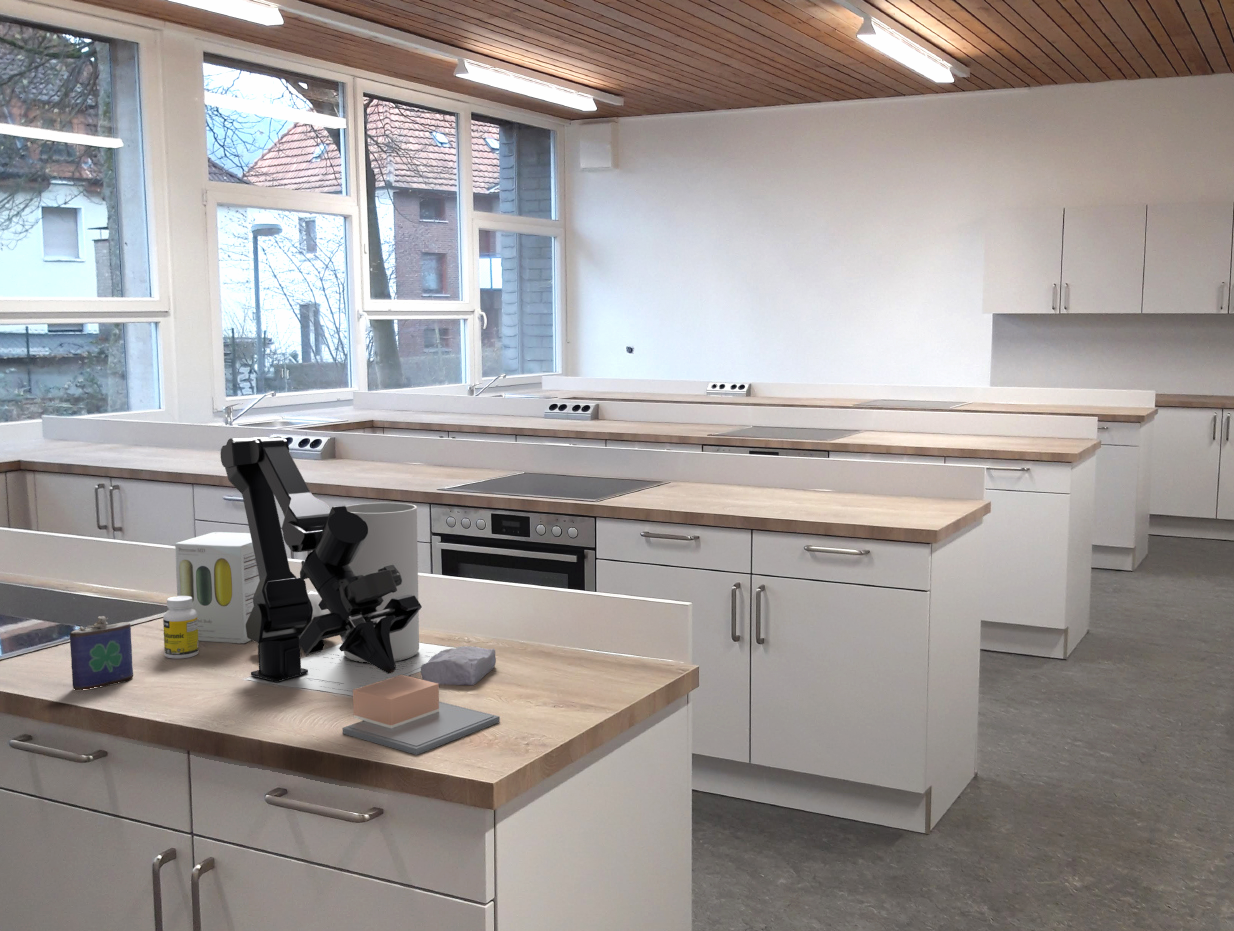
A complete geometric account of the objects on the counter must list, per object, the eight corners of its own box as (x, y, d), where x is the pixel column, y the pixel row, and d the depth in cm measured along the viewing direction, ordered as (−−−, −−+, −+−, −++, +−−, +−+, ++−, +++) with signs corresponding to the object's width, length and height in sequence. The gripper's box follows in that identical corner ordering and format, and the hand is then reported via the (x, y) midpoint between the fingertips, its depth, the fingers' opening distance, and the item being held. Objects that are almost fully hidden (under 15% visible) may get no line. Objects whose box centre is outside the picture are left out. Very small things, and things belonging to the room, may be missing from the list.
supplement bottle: (157, 657, 195) (155, 599, 194) (180, 649, 200) (178, 593, 199) (183, 660, 193) (180, 602, 192) (205, 652, 198) (203, 596, 197)
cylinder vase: (378, 641, 206) (375, 500, 203) (434, 650, 200) (432, 506, 197) (327, 657, 195) (324, 509, 193) (384, 668, 189) (381, 515, 186)
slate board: (342, 733, 158) (342, 726, 157) (427, 703, 170) (427, 697, 170) (416, 754, 149) (416, 748, 149) (499, 722, 162) (499, 715, 162)
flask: (129, 676, 185) (126, 609, 183) (137, 679, 183) (134, 612, 181) (69, 689, 178) (66, 620, 177) (77, 693, 176) (74, 623, 175)
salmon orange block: (352, 689, 161) (390, 699, 156) (401, 674, 168) (438, 683, 164) (353, 717, 161) (391, 728, 157) (401, 701, 168) (439, 711, 164)
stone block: (418, 695, 181) (478, 686, 179) (412, 665, 181) (472, 655, 179) (444, 676, 193) (501, 668, 191) (439, 648, 193) (496, 639, 190)
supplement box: (176, 640, 207) (172, 542, 205) (217, 622, 220) (214, 530, 218) (244, 644, 204) (241, 545, 202) (281, 626, 217) (279, 533, 215)
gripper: (310, 558, 156) (368, 652, 151) (411, 540, 171) (468, 624, 166) (274, 609, 162) (329, 700, 156) (375, 586, 177) (429, 669, 171)
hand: (392, 671), depth 162 cm, fingers closed
